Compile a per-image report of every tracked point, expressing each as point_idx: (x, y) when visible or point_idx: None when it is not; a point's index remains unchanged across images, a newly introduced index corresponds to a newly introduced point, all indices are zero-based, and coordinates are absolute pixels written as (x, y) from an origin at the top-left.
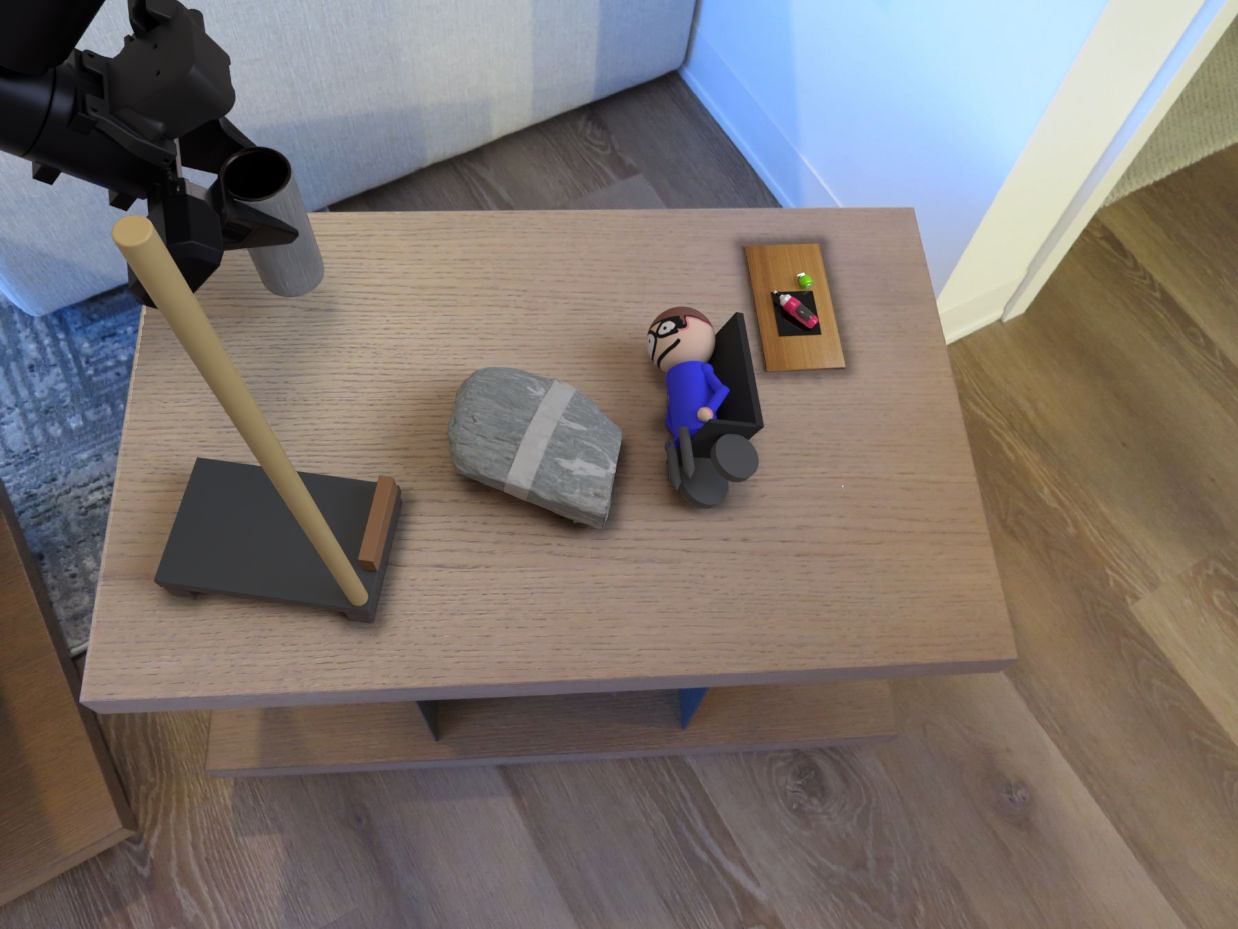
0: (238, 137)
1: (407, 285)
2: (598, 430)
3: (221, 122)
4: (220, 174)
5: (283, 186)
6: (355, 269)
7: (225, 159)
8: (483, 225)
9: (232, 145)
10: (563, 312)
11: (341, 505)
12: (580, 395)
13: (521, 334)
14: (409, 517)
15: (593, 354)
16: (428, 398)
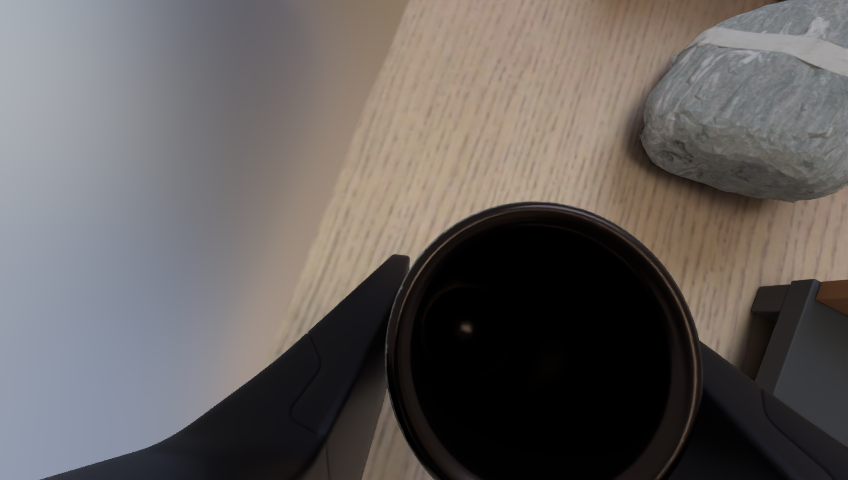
0: (324, 375)
1: (444, 190)
2: (816, 7)
3: (262, 460)
4: None
5: (651, 253)
6: (395, 246)
7: (430, 466)
8: (384, 75)
9: (352, 412)
10: (543, 30)
11: (834, 364)
12: (725, 24)
13: (560, 84)
14: (781, 284)
15: (610, 19)
16: (621, 214)
